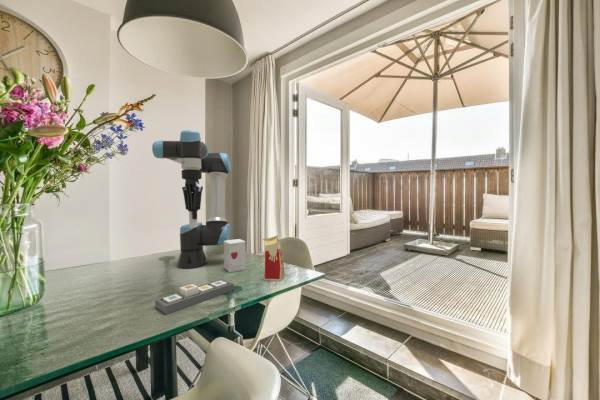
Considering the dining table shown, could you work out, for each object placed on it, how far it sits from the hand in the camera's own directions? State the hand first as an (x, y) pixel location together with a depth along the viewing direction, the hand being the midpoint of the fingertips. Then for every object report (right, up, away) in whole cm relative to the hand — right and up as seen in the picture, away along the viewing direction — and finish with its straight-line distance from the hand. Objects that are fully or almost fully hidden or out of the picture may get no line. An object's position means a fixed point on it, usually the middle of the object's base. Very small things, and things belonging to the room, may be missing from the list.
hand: (193, 227), depth 108 cm
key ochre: (+6, -26, -5) cm, 27 cm away
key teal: (-2, -26, -14) cm, 30 cm away
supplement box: (+10, -25, +30) cm, 41 cm away
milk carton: (+31, -26, +15) cm, 43 cm away
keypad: (+4, -27, -7) cm, 28 cm away
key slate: (+10, -26, 0) cm, 28 cm away
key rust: (+2, -24, -9) cm, 26 cm away
